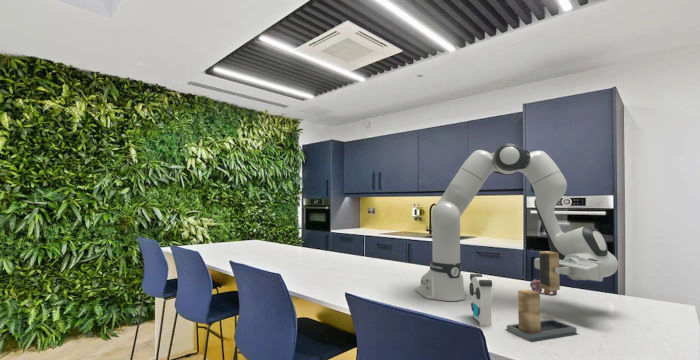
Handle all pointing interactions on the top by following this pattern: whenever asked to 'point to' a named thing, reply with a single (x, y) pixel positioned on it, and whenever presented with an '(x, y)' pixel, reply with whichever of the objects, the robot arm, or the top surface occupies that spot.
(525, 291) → the block
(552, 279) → the oak finger
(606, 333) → the top surface
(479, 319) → the panda figurine
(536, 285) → the video game controller
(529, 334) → the dark grey tray
